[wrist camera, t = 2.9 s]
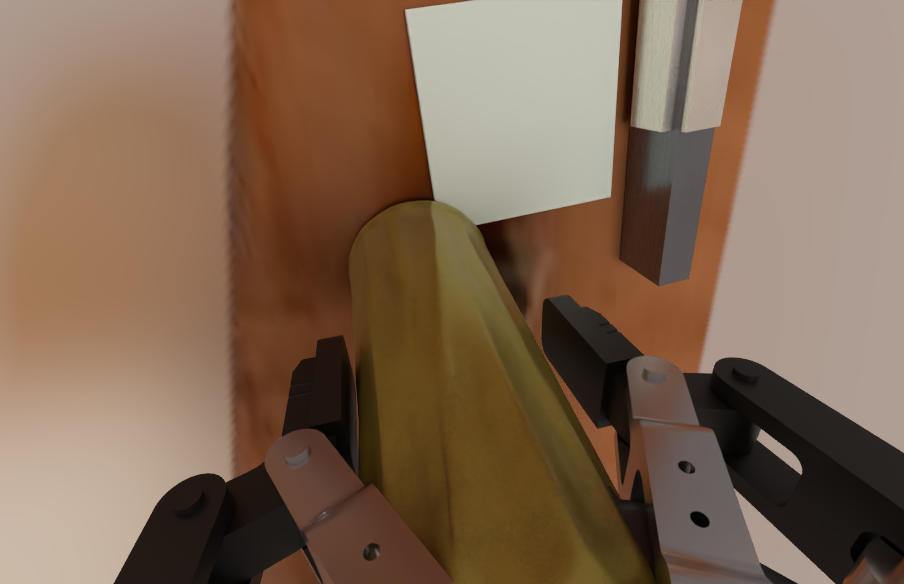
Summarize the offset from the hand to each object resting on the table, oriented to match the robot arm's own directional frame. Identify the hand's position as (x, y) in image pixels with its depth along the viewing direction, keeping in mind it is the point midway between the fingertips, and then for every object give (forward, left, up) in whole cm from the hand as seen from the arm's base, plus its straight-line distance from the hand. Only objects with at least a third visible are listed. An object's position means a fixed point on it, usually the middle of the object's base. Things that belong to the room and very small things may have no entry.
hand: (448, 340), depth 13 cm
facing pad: (+7, -1, -6) cm, 10 cm away
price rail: (+10, -6, -6) cm, 13 cm away
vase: (0, 0, -6) cm, 6 cm away
